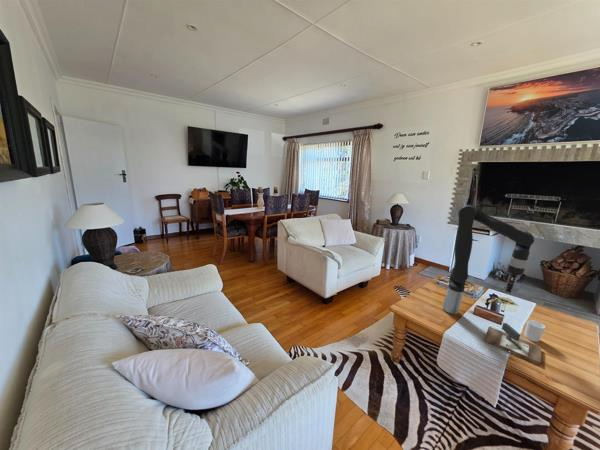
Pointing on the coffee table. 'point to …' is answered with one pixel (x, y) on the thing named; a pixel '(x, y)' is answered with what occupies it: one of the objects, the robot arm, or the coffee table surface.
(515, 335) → the peg key
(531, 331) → the white cup
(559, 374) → the coffee table surface
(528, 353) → the tuner board
